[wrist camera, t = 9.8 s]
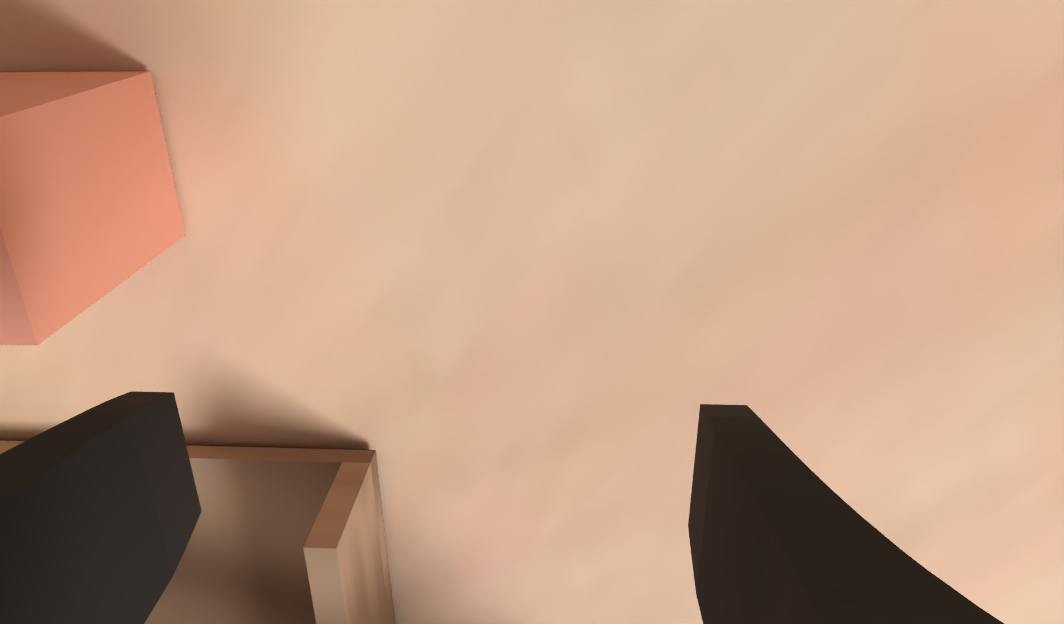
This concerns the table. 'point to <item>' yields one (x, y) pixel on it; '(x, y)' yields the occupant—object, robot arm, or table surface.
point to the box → (281, 540)
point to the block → (78, 193)
